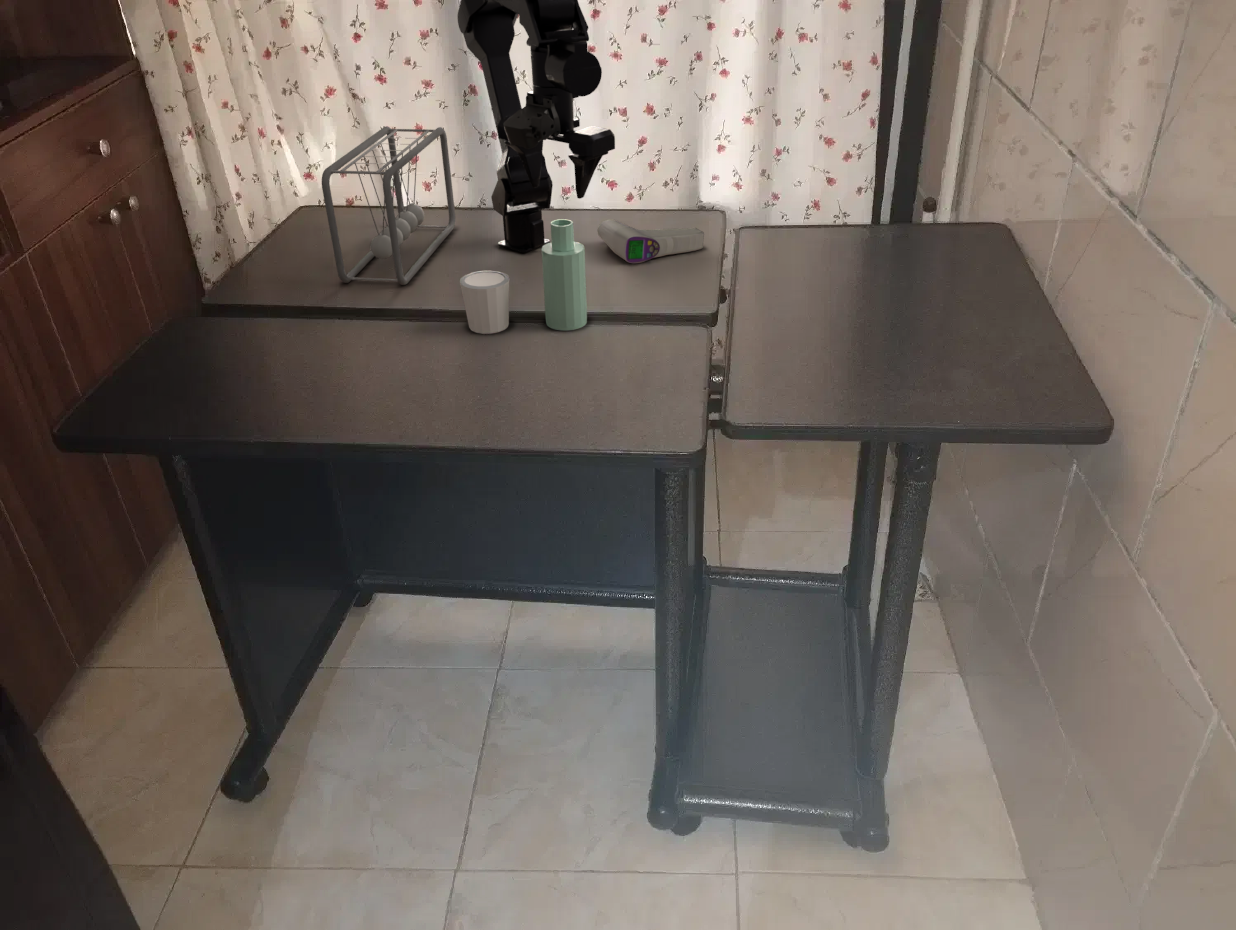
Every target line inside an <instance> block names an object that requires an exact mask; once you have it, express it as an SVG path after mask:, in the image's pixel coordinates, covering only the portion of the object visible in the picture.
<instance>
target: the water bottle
mask: <svg viewBox="0 0 1236 930" xmlns="http://www.w3.org/2000/svg"><path fill="white" fill-rule="evenodd" d="M574 233H575V232H574V221H573V220H570V219H565V218H561V219H560V218H558V219H554V220H552V221H550V239H551V240H550V243H547V244H545V245H543V246H542V247H540V248H541V250H540V251H541V266H542V283H543V298H544V299H543V301H544V317H545V324H546V326H547V327H548V328H550V329H552V330H556V331H561V332H563V331H564V332H566V331H575V330H579V329H581V328H583V327H585V326H586V325H587V323H588V308H587V302H588V301H587V279H586V278H587V274H586V249H585V246H584V244H583V243H580V242H579V241H575V236H574Z"/></svg>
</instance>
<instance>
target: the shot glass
mask: <svg viewBox="0 0 1236 930" xmlns="http://www.w3.org/2000/svg"><path fill="white" fill-rule="evenodd" d="M459 285H460V291H461V294H462V295H461V296H462V300H463V305H464V309H465V314H466V319H467V325H468V328H469V329H470V331H471V332H474V333H477V334H483V335H485V334H486V335H488V334H489V335H492V334H496V333H500V332H503V331H505V330H506V329H508V328H509V325H510V276H509V275H508V274H507V273H505V272H502V271H497V270H479V271H472V272H470V273H468V274H465V275H463V276H462V277H460V280H459Z"/></svg>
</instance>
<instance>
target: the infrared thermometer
mask: <svg viewBox="0 0 1236 930" xmlns="http://www.w3.org/2000/svg"><path fill="white" fill-rule="evenodd" d="M597 235H598V236H599V238H600V239H601V240H602V241H603V242H604V243H605V244H606V245H607V246H608V248H609V249H610V250H611V251H612V252H613V253H614V254H615V255H617V256H618V257H620V258H621V259H623V260H625V261H626V262H627V263H629V264H641V263H644V262H647V261H650V260H651V259H655V258H659V257H664V256H668V255H675V254H683V253H689V252H695V251H698V250H701V249H703V248H704V242H705V241H704V240H705V232H704V231H703V230H701V229H699V228H697V227H688V228H660V229H659V228H658V229H655V228H654V229H653V228H652V229H647V228H645V229H644V228H643V229H639V228H635V227H633V226H631V225H628V224H626V223H623V222H622V221H619V220H617V219H606V220H603V221H601V223H600V224H599V225H598V226H597Z"/></svg>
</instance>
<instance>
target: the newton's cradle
mask: <svg viewBox="0 0 1236 930" xmlns="http://www.w3.org/2000/svg"><path fill="white" fill-rule="evenodd" d="M397 132H401V133H402V132H403V133H404V132H408V133H409V132H410V133H421V134H420V135H419V136H418V137H406V140H407V139H410V140H411V139H412V140H413V139H414V140H413V141H412V142H411V143H401V146H402V145H403V146H404V145H407V146H406V147H404V148H403V149H397V145H396V140H395V139H396V138H395V133H397ZM428 133H429V134H428ZM427 134H428V135H427ZM426 135H427V136H426ZM424 137H425V138H424ZM438 137H439V139H440V148H441V150H440V151H441V157H442V167H443V175H444V176H443V177H444V186H445V193H446V201H447V211H448V223H447V225H425V224H424V225H423V222H424V220H425V210H424V209H423V208H422V206H420V205H419V204H416V203H415V202H416V201H415V200H416V183H417V163H418V155H419V154H420V153H421V152H422V151H424V150H425V149H426V148H427V147H428V146H430V144H431V143H432V142H434V141H435V140H436V139H437V138H438ZM421 139H422V140H421ZM420 140H421V141H420ZM385 141H387V144H388V149H384V147H383V143H384V142H385ZM419 141H420V142H419ZM415 144H416V145H415ZM414 145H415V146H414ZM379 146H380V147H381V151H382V153H383V156H382V155H381V156H377V155H376V154H375V149H376V148H377V147H379ZM413 146H414V147H413ZM386 151H388V152H389V159H390V160H388V159H387V156H386V153H385V152H386ZM370 152H372V154H373V155H368V154H369V153H370ZM404 153H405V154H404ZM383 157H384V159H385V162H386V163H383V162H382V163H380V162H379V163H378V160H377V158H383ZM399 157H401V158H399ZM362 158H363V159H364V162H358V161H360V160H361V159H362ZM366 158H374V159H375V160H374V161H375V162H367V159H366ZM398 158H399V159H398ZM414 158H415V168H414V187H413V189H414V190H413V202H410V198H409V186H410V168H411V161H412V160H413V159H414ZM359 164H360V165H361V164H364V165H366V168H367V170H359V168H358V166H357V165H359ZM407 164H408V173H407V189H406V185H405V183H404V179H403V168H404V167H405V166H406V165H407ZM353 165H354V166H355V168H356V170H348V169H349V168H350V167H352V166H353ZM369 165H377V169H378V170H375V171H373V170H371V171H370V168H369ZM379 165H382V166H381V167H380V166H379ZM390 165H391V166H390ZM384 170H385V171H384ZM333 174H341V175H343V174H345V175H346V174H347V175H348V174H349V175H358V178H359V181H360V184H361V186H362V191H363V193H364V196H365V199H366V202H367V205H368V208H369V211H370V215H371V217H372V220H373V223H374V227H375V229H376V233H377V235H376V236H374V237H373V238H372V239H371V242H370V245H369V246H370V250H369V251H368V252H367V253H366V254H365V255H364V256H363V257H362V258H361V259H360V260H359V261H358V262H357V263H356V264H355V265H354V266H353V267H352V268H351V269H349V271H348V272H347V273H346V269H345V264H344V259H343V252H342V247H341V242H340V236H339V230H338V224H337V219H336V214H335V208H334V202H333V197H332V191H331V185H330V179H331V176H332V175H333ZM361 175H369V177H370V180H371V182H372V185H373V188H374V192H375V195H376V198H377V201H378V203H379V207H380V209H381V212H382V229H381V230H380V233H379V230H378V227H377V224H376V221H375V217H374V215H373V212H372V209H371V205H370V202H369V200H368V196H367V193H366V189H365V187H364V184H363V181H362V179H361V178H362V177H361ZM372 175H379V176H380V178H381V181H382V191H383V206H382V204H381V201H380V198H379V194H378V192H377V189H376V186H375V183H374V180H373V177H372ZM391 181H392V183H391ZM452 181H453V180H452V173H451V163H450V154H449V144H448V138H447V133H446V130H445V129H444V128H443V127H442V126H438V127H436V128H435V129H427V128H426V129H419V128H416V129H415V128H391V127H390V126H388V125H386V126H383V127H382V128H381V129H379V130H378V131H376V132H375V133H373V134H372V135H371V136H370V137H368V138H366V139H365V140H364V141H362V142H361V143H360V144H358V145H357V146H355V147H354V148H352V149H351V150H350V151H349V152H346V153H345V154H344V155H342V156H341V157H340V158H339V159H337V160H336V161H334V162H333V163H331V164H330V165H329V166H327V167H326V168H325V169H324V170H323V172H322V174H321V190H322V195H323V200H324V207H325V212H326V216H327V222H328V229H329V234H330V240H331V244H332V249H333V255H334V260H335V266H336V271H337V275H338V278H339V280H340V281H341V283H344V284H348V283H350V282H351V281H367V282H368V281H370V282H392V283H393V282H394V283H395V282H396V283H398V284H399V285H401V286H406V285H407V284H408V283H409V282H410V281H411V280H412V278H413V277H414V276H416V274H417V273H418V272H419V270H420V269H421V268H422V267H423V265H424V264H425V263H427V261H428V259H429V258H431V256H432V255H433V253H435V252H436V251H437V249H439V247H440V246H441V244H442V243H443V242H444V241H445V239H447V237H448V236H449V235H450V234H451V232H452V231H453V230H454V228H455V226H456V210H455V200H454V191H453V182H452ZM402 185H403V188H404V191H405V195H406V206H405V205H404V197H403V189H402ZM394 193H395V194H394ZM394 195H395V196H394ZM394 197H395V199H396V206H397V215H396V214H395V206H394ZM385 211H386V216H385ZM386 217H387V219H386ZM385 224H386V227H385ZM417 228H421V229H422V228H423V229H443V230H442V231H441V232H440V233H439V234H438V236H437V237H436V238H435V239H434V240H433V241H432V243H430V245H429V246H428V247H427V248H426V250H425V251H424V252H423V253H422V254H421V256H419V258H418V259H417V260H416V261H415V263H414V264H412V266H411V267H410V268H409V269H408V271H407V272H406V273H405V274H404V269H403V264H402V256H401V250H400V249H401V248H400V247H401V246H402V244H403V242H405V241H407V240H408V239H409V237H410V235H411V234H412V233H414V232H415V231H416V230H417ZM391 256H392V257H393V258H392V259H393V264H394V273H395V278H380V277H379V278H378V277H377V278H376V277H356V276H357V275H358V274H359V273H360V272H361V271H362V270H363V269H364V268H365V267H366V266H367V265H368V264H369V263H370V262H371V261H372V259H373V258H377V259H380V260H385V259H386V260H387V259H389V258H390V257H391Z"/></svg>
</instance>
